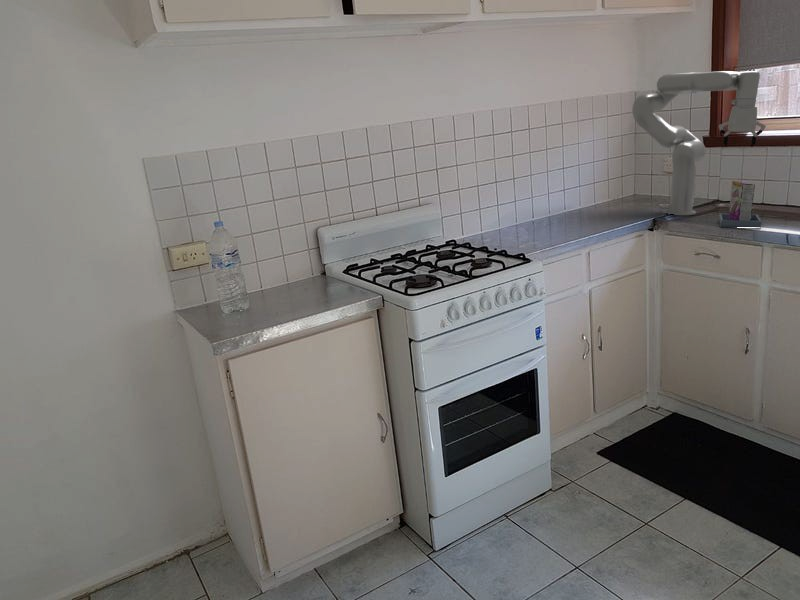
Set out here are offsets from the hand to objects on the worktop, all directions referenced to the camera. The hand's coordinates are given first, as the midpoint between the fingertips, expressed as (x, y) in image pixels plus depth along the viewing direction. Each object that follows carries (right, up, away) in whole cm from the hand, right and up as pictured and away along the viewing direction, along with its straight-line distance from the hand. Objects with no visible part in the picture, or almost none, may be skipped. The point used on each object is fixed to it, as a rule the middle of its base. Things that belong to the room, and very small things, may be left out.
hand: (738, 146), depth 266 cm
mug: (-5, -19, +43) cm, 48 cm away
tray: (-3, -33, -6) cm, 34 cm away
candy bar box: (-3, -33, -6) cm, 33 cm away
